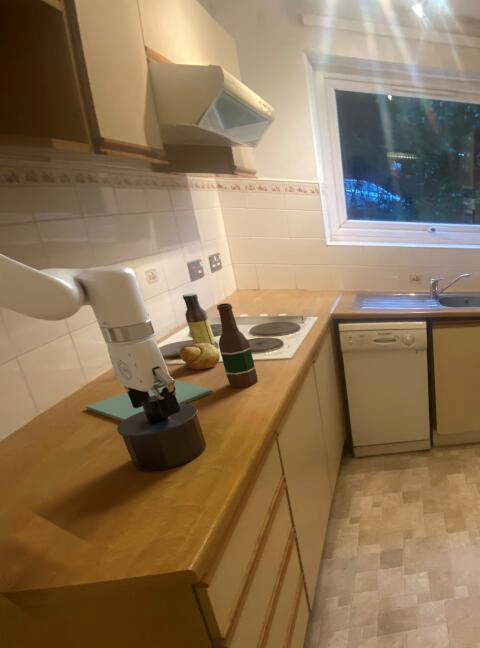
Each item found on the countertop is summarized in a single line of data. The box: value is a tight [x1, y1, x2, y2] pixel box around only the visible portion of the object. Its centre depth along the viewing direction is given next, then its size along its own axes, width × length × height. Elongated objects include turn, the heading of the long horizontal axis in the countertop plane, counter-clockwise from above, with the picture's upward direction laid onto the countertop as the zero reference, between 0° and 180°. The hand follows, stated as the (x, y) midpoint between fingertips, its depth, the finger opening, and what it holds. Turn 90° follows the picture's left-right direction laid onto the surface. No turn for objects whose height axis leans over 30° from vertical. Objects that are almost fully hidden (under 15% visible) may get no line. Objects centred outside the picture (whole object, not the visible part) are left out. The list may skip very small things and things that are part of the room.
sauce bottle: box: [182, 292, 217, 347], centre depth 152 cm, size 6×6×20 cm
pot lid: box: [116, 395, 199, 437], centre depth 90 cm, size 13×13×6 cm
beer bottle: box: [216, 302, 259, 389], centre depth 124 cm, size 8×8×24 cm
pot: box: [121, 414, 207, 473], centre depth 93 cm, size 13×13×8 cm
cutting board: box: [85, 379, 214, 422], centre depth 118 cm, size 20×20×1 cm
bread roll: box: [178, 343, 221, 370], centre depth 141 cm, size 13×10×8 cm
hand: (157, 409), depth 90 cm, fingers open, 9 cm apart
